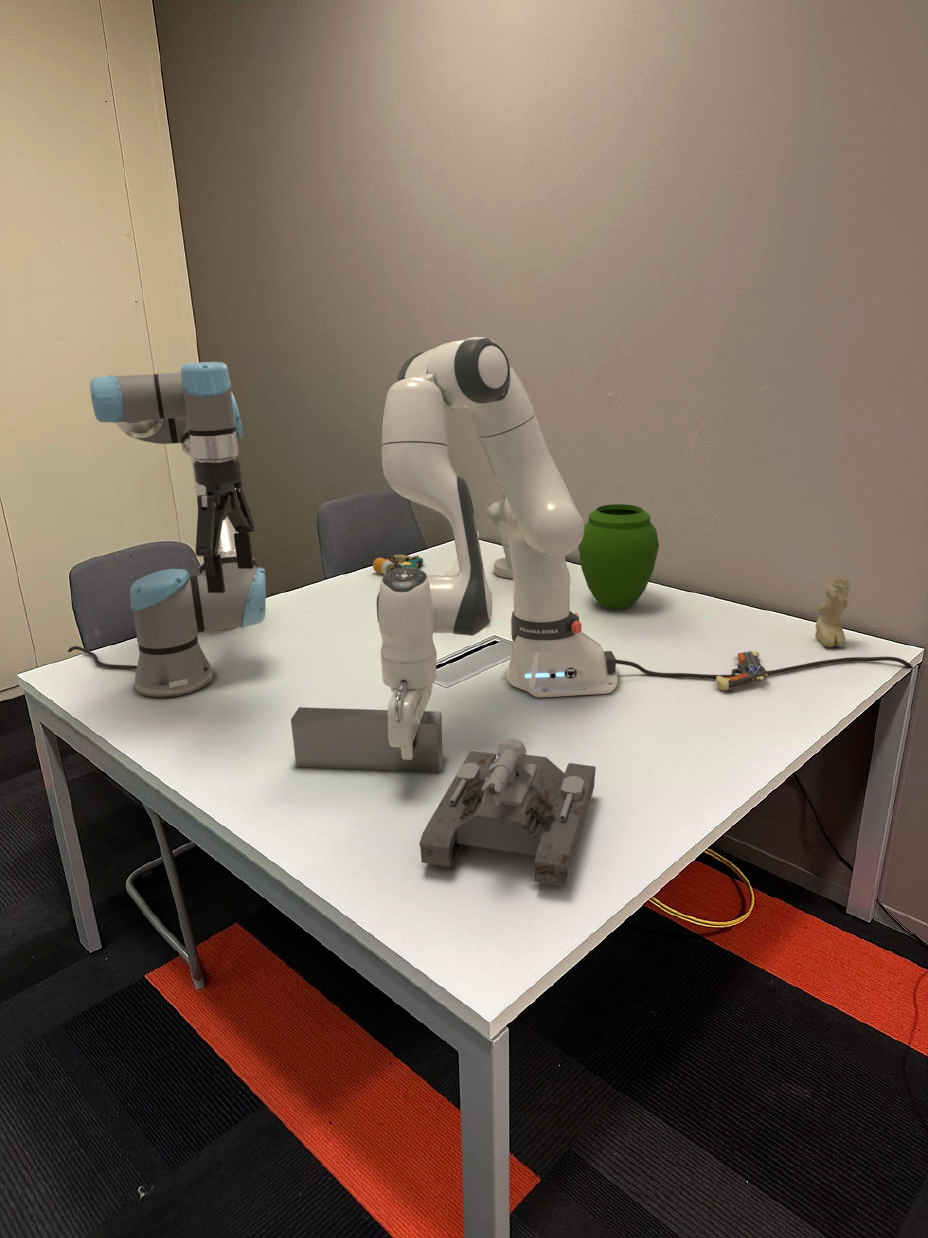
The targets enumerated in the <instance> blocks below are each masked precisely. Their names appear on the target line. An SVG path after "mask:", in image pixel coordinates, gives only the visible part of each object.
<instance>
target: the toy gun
mask: <svg viewBox="0 0 928 1238" xmlns="http://www.w3.org/2000/svg"><path fill="white" fill-rule="evenodd" d="M759 657H760V652H759V651H757V650H753V651H751V650H748V651H743V652H738V653H737V660H738V664H737V668H733V669H731V674H730V675H731V677H725V678H723V677H721V676H717V677H716V679H715V681H716V685H717V687H718V689H719V690H720V691H728V690H730V689H734V688H738V687H741V686H743V685H747V684H748V685H749V684H750V683H754V682H756V681H759V680H760V681H764V679H765V677H766V676H768V675H767V674H766V671H767V670H766V669H765V667H764V666H763V665H762V664H761V662H760V659H759Z"/></svg>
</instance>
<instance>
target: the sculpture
mask: <svg viewBox="0 0 928 1238" xmlns="http://www.w3.org/2000/svg"><path fill="white" fill-rule="evenodd" d="M826 581H827V586H826V588H825V590H824V593H825V595H826V596H827V598H826V600H824V601H822V602H821V603H820V604H819V605H818V606H817V609H816V610H817V612H818V614H819V616H818V617H817V619H816V623H815V630H816V631H815V634H814V635H815V639H817V640H819V642H820V643H821V644H822V645H823V646H825V647H827V648H832V647H834V646H835V647H843V646H844V645H845V643H846V642H845V641H846V636H845V632H844V630H843V626H842V624H841V622H840V621H841V617H842V615H843V612H844V610H845V609H846V608H847V606H848V604H849V603H848V602H849V601H847V598H848V597H849V592H850V586H851V585H852V582H850V580H848V579H847V578H845V577H841V576H840V577H835V578H831V577H827V578H826Z"/></svg>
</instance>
